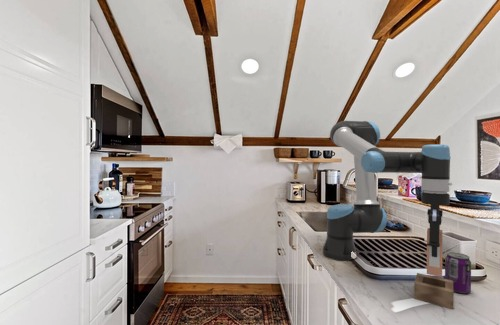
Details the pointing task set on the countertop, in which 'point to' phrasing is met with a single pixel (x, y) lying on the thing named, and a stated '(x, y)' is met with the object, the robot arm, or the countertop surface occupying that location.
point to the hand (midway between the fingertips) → (434, 264)
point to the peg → (436, 270)
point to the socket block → (434, 290)
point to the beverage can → (458, 271)
